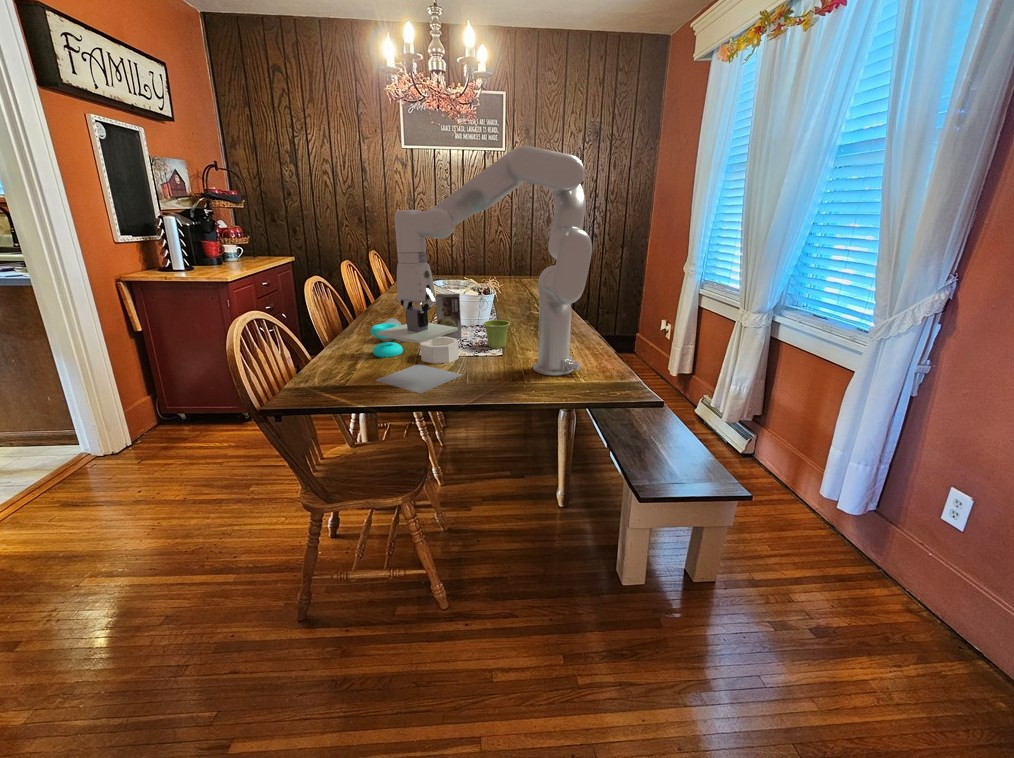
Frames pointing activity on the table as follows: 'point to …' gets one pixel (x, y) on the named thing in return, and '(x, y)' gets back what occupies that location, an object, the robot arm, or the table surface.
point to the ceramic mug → (392, 323)
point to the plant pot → (496, 332)
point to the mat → (419, 378)
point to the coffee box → (449, 313)
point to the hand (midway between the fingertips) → (417, 324)
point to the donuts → (388, 347)
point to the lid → (416, 329)
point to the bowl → (439, 350)
